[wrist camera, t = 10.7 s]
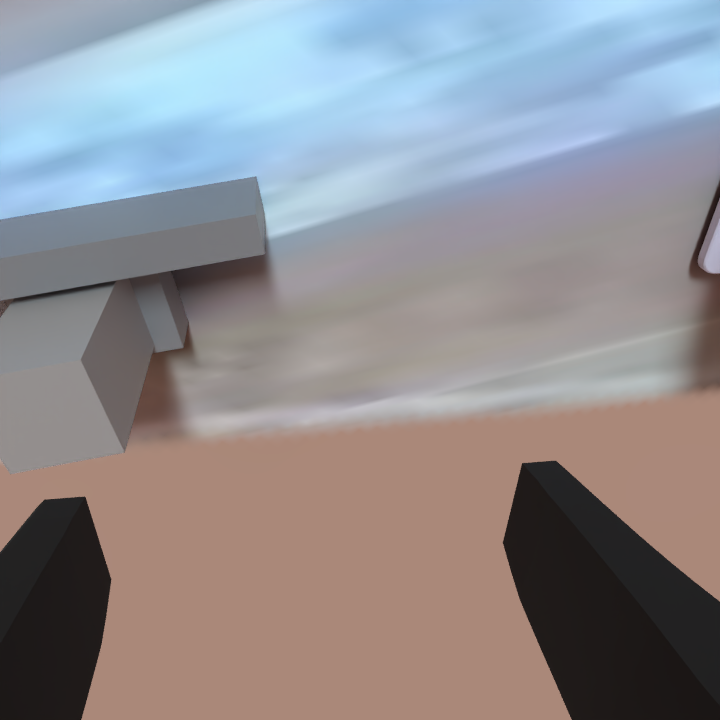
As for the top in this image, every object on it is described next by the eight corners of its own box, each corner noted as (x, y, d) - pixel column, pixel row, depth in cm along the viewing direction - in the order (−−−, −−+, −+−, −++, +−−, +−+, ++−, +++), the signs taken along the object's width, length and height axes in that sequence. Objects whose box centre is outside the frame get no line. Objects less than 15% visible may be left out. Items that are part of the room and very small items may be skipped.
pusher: (256, 175, 16) (254, 269, 11) (285, 304, 18) (294, 429, 13) (-120, 239, 16) (-294, 366, 11) (-43, 363, 18) (-158, 514, 13)
